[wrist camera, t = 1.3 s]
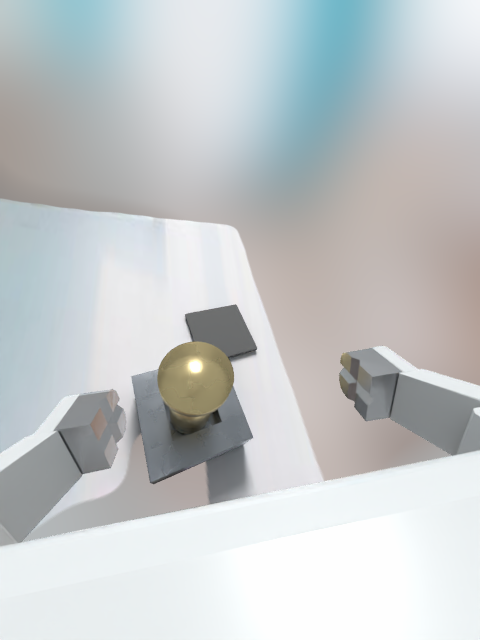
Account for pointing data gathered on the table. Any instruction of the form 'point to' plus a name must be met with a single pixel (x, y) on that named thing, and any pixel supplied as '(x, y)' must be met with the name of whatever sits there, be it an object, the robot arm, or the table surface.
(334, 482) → the robot arm
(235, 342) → the mat
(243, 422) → the housing
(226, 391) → the brass flanged peg
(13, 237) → the table surface
